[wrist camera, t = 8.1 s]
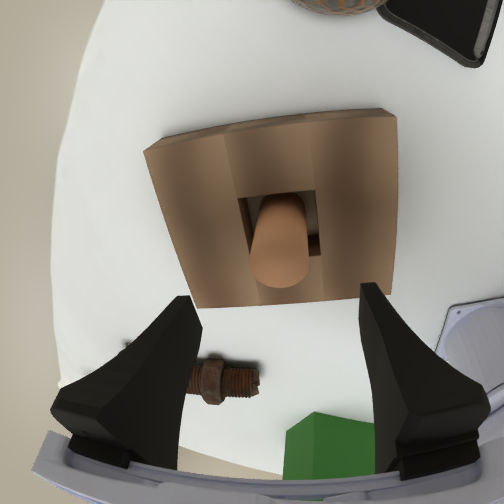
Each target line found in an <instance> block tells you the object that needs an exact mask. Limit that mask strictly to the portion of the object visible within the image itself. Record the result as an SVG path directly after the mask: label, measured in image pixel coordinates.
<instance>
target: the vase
mask: <svg viewBox="0 0 504 504" xmlns="http://www.w3.org/2000/svg"><path fill="white" fill-rule="evenodd" d="M291 1H293V2H294V3H296V4H298V5H300V6H302V7H304V8H307V9H309V10H312V11H315V12H318V13H323V14H328V15H338V16H346V15H355V14H360V13H364V12H367V11H370V10H372V9H374V8H377V7H379V6H381V5H382V4H384V3H385V2H387V1H388V0H291Z"/></svg>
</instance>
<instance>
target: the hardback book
mask: <svg viewBox="0 0 504 504" xmlns="http://www.w3.org/2000/svg"><path fill="white" fill-rule="evenodd" d="M374 474H375V430H374V424H373V423H367V422H361V421H356V420H351V419H346V418H341V417H336V416H331V415H327V414H322V413H318V412H313V413H311V414H310V415H309V416H307V417H306V418H305V419H303V420H302V421H300V422H299V423H298V424H296V425H295V426H293V427H292V428H290V429H289V430H287V431H286V441H285V455H284V467H283V480H317V479H335V478H347V477H357V476H366V475H374ZM323 500H324V499H313V500H299V501H323Z"/></svg>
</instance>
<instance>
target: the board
mask: <svg viewBox="0 0 504 504" xmlns="http://www.w3.org/2000/svg"><path fill="white" fill-rule="evenodd" d="M143 153H144V156H145V159H146V163H147V166H148V169H149V173H150V176H151V179H152V182H153V185H154V189H155V192H156V195H157V198H158V201H159V204H160V207H161V210H162V213H163V216H164V219H165V222H166V225H167V228H168V231H169V234H170V237H171V240H172V242H173V245H174V248H175V251H176V254H177V257H178V259H179V262H180V265H181V268H182V270H183V273H184V276H185V278H186V281H187V284H188V286H189V289H190V292H191V294H192V297H193V300H194V302H195V305H196V307H197V309H199V308H224V307H245V306H262V305H278V304H293V303H306V302H319V301H331V300H342V299H352V298H360V283H369V282H375V283H377V285H378V286H379V288H380V289H381V291H382V292H383V294H384V295H391V289H392V280H393V270H394V259H395V247H396V232H397V210H398V139H397V119H396V116H394V115H392V114H391V113H389V112H387V111H385V110H384V109H382V108H377V109H355V110H339V111H326V112H315V113H305V114H296V115H287V116H279V117H272V118H265V119H258V120H251V121H245V122H239V123H233V124H227V125H222V126H217V127H211V128H206V129H201V130H196V131H192V132H187V133H182V134H178V135H174V136H169V137H165V138H161V139H160V140H159V141H157V142H156V143H154V144H153V145H151V146H150V147H148V148H147V149H146V150H144V151H143ZM287 192H293V193H295V194H297V195H298V196H299V197H300V198H301V199H302V201H303V202H304V205H305V211H306V224H307V239H308V255H309V269H308V272H307V274H306V276H305V277H304V278H303V279H302V280H301V281H300V282H299V283H297V284H295V285H293V286H290V287H286V288H273V287H269V286H266V285H264V284H262V283H261V282H259V281H258V280H257V279H256V278H255V277H254V276H253V275H252V273H251V271H250V268H249V257H250V253H251V248H252V243H253V238H254V234H255V229H256V224H257V219H258V214H259V210H260V205H261V202H262V200H263V199H264V198H265V197H266V196H267V195H269V194H277V193H287Z"/></svg>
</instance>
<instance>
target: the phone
mask: <svg viewBox="0 0 504 504" xmlns="http://www.w3.org/2000/svg"><path fill="white" fill-rule="evenodd" d="M502 2H503V0H388V1H387V2H385V3H384V4H382V5H381V6H379V7H377V8H376V9H377V11H378V13H379V15H380V16H381V17H382V18H383V19H385V20H386V21H388V22H390V23H392V24H394V25H396V26H397V25H398V26H397V27H399V28H401V29H403V30H405V31H407V32H409V33H411V34H412V35H414V36H416V37H418V38H419V39H421V40H423V41H425V42H426V43H428V44H430V45H431V46H433V47H434V48H436V49H438V50H439V51H441V52H442V53H444V54H446V55H447V56H449V57H450V58H452V59H453V60H455V61H456V62H458V63H459V64H460V65H462V66H464V67H470V68H478V67H480V66H481V65H482V64H483V63H484V61H485V58H486V55H487V52H488V49H489V46H490V43H491V40H492V37H493V34H494V30H495V27H496V24H497V20H498V17H499V13H500V9H501V5H502Z"/></svg>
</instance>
